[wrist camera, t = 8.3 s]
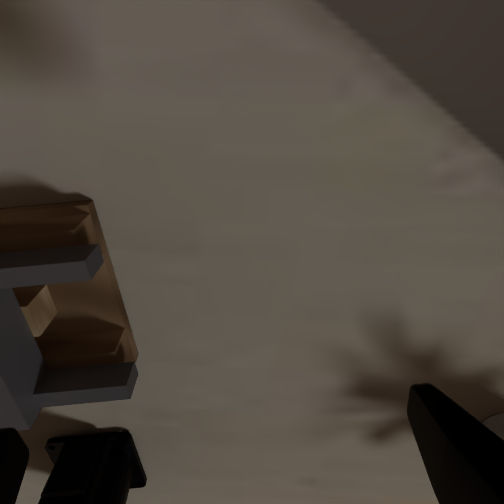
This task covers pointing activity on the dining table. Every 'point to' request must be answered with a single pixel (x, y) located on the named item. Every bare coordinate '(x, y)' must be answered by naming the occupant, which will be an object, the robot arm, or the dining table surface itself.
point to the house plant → (496, 424)
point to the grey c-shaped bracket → (27, 351)
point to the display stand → (69, 289)
